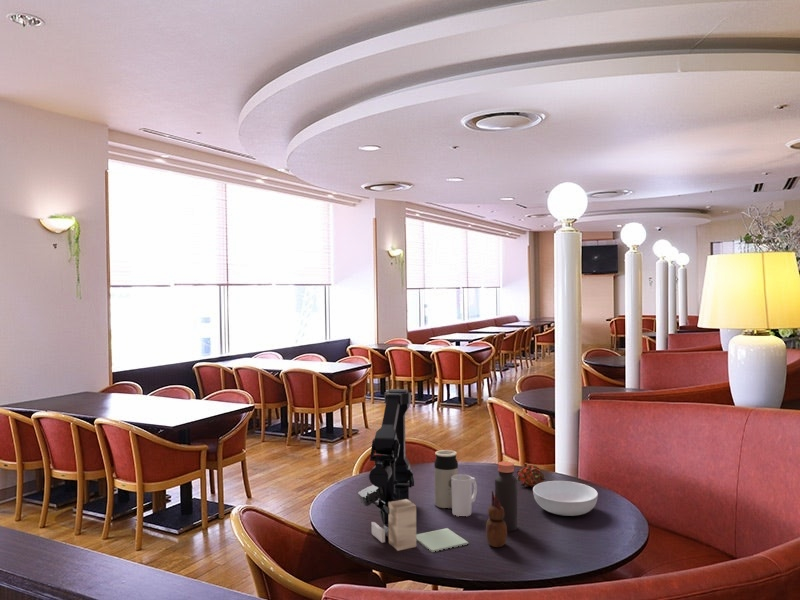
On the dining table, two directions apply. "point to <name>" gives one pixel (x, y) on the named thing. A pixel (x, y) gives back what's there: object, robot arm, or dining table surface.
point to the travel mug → (444, 477)
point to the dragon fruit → (530, 476)
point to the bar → (386, 529)
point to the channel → (378, 532)
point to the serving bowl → (565, 497)
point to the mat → (440, 539)
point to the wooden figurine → (496, 524)
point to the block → (402, 524)
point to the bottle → (507, 493)
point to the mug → (462, 494)
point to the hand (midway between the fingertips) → (386, 527)
